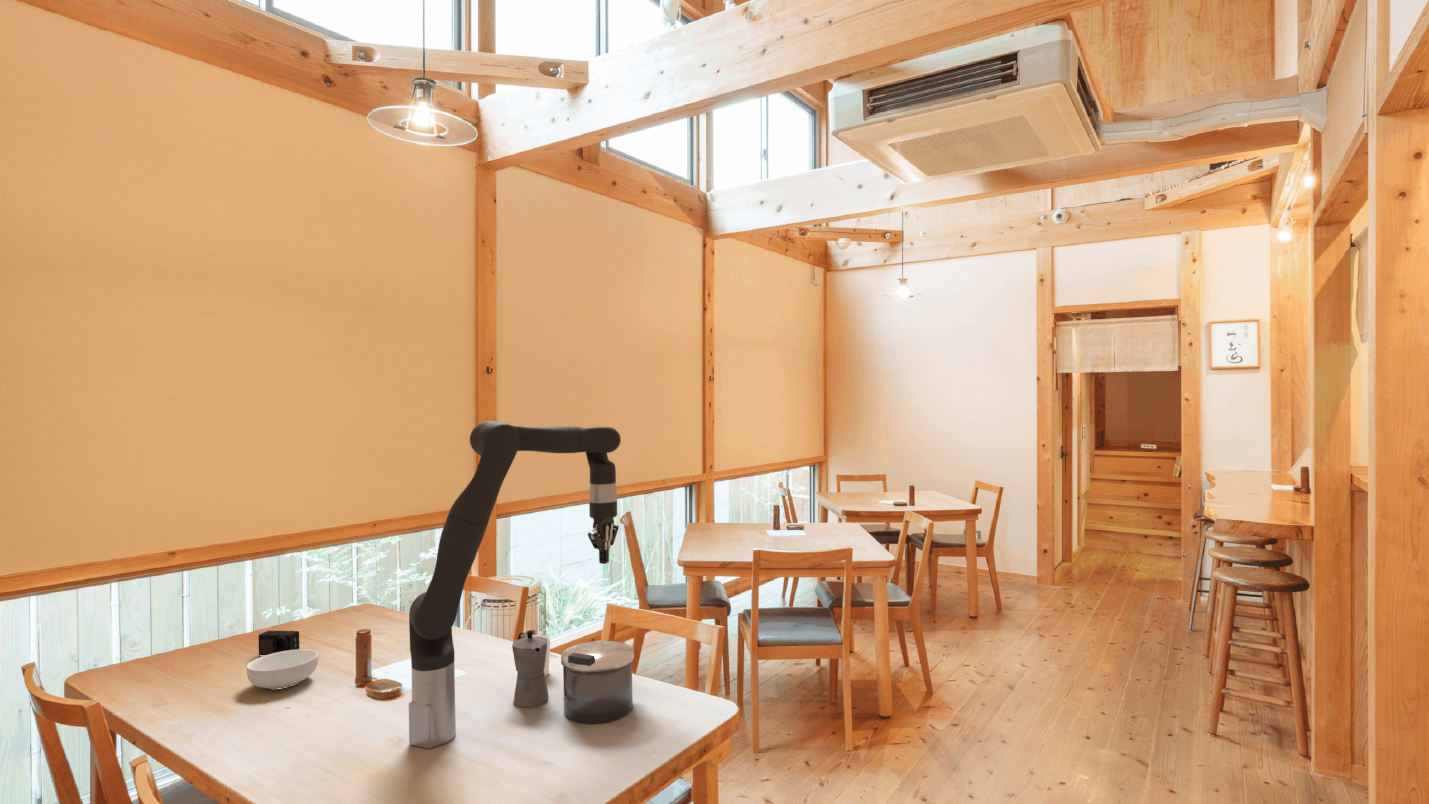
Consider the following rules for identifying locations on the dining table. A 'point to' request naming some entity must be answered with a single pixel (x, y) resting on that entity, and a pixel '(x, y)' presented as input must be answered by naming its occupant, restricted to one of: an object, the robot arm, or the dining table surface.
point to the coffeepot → (530, 670)
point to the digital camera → (278, 641)
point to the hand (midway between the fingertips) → (604, 562)
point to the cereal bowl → (282, 668)
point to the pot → (597, 695)
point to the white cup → (546, 668)
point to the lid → (597, 656)
